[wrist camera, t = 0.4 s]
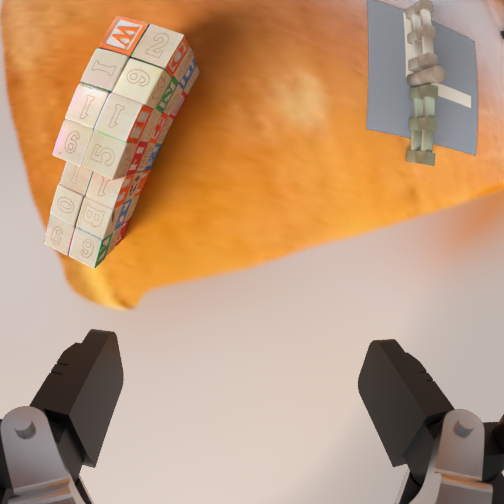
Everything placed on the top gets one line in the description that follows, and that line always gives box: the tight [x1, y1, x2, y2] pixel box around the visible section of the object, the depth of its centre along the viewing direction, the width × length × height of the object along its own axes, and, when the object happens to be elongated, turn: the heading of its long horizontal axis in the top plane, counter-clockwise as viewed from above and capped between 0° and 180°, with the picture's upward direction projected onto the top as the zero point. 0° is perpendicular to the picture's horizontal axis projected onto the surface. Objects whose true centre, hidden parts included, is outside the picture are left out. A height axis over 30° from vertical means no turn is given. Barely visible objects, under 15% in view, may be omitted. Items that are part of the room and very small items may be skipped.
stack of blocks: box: [44, 16, 200, 269], centre depth 26 cm, size 21×6×12 cm, turn 153°
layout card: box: [366, 0, 478, 156], centre depth 30 cm, size 18×18×1 cm
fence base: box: [405, 0, 446, 88], centre depth 26 cm, size 12×2×7 cm, turn 177°
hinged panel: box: [406, 84, 438, 166], centre depth 30 cm, size 9×1×4 cm, turn 177°
